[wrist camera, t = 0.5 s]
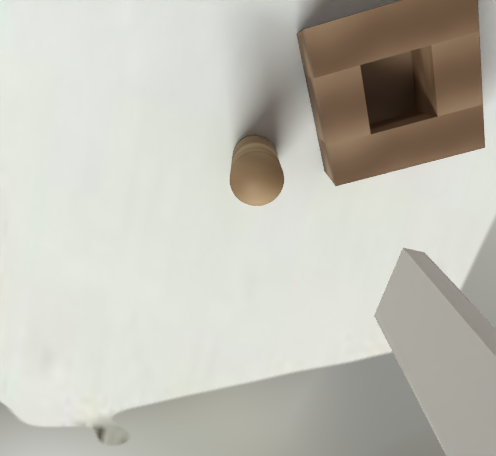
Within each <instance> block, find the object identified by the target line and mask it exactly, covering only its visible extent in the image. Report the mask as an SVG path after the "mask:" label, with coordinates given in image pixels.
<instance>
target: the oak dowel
mask: <svg viewBox="0 0 496 456" xmlns="http://www.w3.org/2000/svg"><path fill="white" fill-rule="evenodd" d="M283 184H284V175H283V171H282V168H281V165H280V162H279V160H278V157H277V154H276V151H275V149H274V147H273V145H272V143H271V142H270V141H269V140H267V139H266V138H264V137H262V136H258V135H251V136H247V137H245V138H243V139H242V140H240V141H239V142H238V143H237V145H236V146H235V148H234V151H233V157H232V165H231V172H230V186H231V189H232V191H233V193H234V194H235V196H236V197H237V198H238V199H239V200H240V201H242V202H243V203H246V204H248V205H253V206H261V205H265V204H268V203H270V202H271V201H273V200H274V199H275V198H276V197H277V196H278V195H279V194H280V192H281V190H282V188H283Z"/></svg>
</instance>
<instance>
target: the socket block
mask: <svg viewBox="0 0 496 456" xmlns="http://www.w3.org/2000/svg"><path fill="white" fill-rule="evenodd" d="M297 38H298V43H299V48H300V53H301V58H302V62H303V67H304V72H305V77H306V82H307V87H308V92H309V97H310V102H311V107H312V112H313V117H314V122H315V126H316V131H317V136H318V141H319V146H320V151H321V156H322V161H323V166H324V171H325V172H326V174H327V175H328V176H329V178H330V179H331V180H332V182H333V183H334V184H335V186H338V185H342V184H346V183H350V182H354V181H358V180H361V179H365V178H369V177H373V176H377V175H381V174H385V173H389V172H392V171H396V170H400V169H404V168H408V167H412V166H416V165H419V164H423V163H427V162H431V161H435V160H439V159H443V158H446V157H450V156H454V155H458V154H462V153H466V152H470V151H474V150H477V149H481V148H485V138H484V118H483V97H482V77H481V56H480V36H479V15H478V0H401V1H398V2H394V3H391V4H387V5H384V6H381V7H377V8H374V9H371V10H367V11H364V12H360V13H357V14H354V15H350V16H347V17H344V18H340V19H337V20H333V21H330V22H327V23H323V24H320V25H317V26H313V27H310V28H306V29H304V30H303V31H301V32H299V33H298V34H297Z"/></svg>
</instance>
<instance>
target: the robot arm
mask: <svg viewBox="0 0 496 456" xmlns="http://www.w3.org/2000/svg"><path fill="white" fill-rule="evenodd" d="M374 316H375V318H376V320H377V322H378V324H379V326H380V328H381V330H382V332H383V334H384V336H385V338H386V340H387V341H388V343H389V345H390V347H391V349H392V351H393V353H394V355H395V357H396V359H397V361H398V363H399V365H400V367H401V369H402V371H403V372H404V374H405V376H406V378H407V380H408V382H409V384H410V386H411V388H412V390H413V392H414V394H415V396H416V398H417V400H418V402H419V404H420V405H421V408H422V409H423V411H424V413H425V415H426V417H427V419H428V421H429V423H430V425H431V427H432V429H433V431H434V433H435V435H436V437H437V439H438V441H439V443H440V444H441V446H442V448H443V450H444V452H445V454H446V456H496V328H495V327H494V326H493V325H492V324H491V322H490V321H489V320H488V319H487V318H486V317H485V316H484V315H483V314H482V313H481V312H480V311H479V310H478V309H477V308H476V307H475V306H474V304H473V303H472V302H471V301H470V300H469V299H468V298H467V297H466V296H465V295H464V294H463V293H462V292H461V291H460V290H459V289H458V288H457V286H456V285H455V284H454V283H453V282H452V281H451V280H450V279H449V278H448V277H447V276H446V275H445V274H444V273H443V272H442V271H441V270H440V268H439V267H438V266H437V265H436V264H435V263H434V262H433V261H432V260H431V259H430V258H429V257H428V256H427V255H426V254H425V253H424V252H420V251H415V250H411V249H406V248H403V249H402V251H401V254H400V256H399V259H398V261H397V263H396V266H395V268H394V270H393V273H392V275H391V277H390V280H389V282H388V284H387V287H386V289H385V292H384V294H383V296H382V299H381V301H380V303H379V306H378V308H377V310H376V313H375V315H374Z"/></svg>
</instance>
